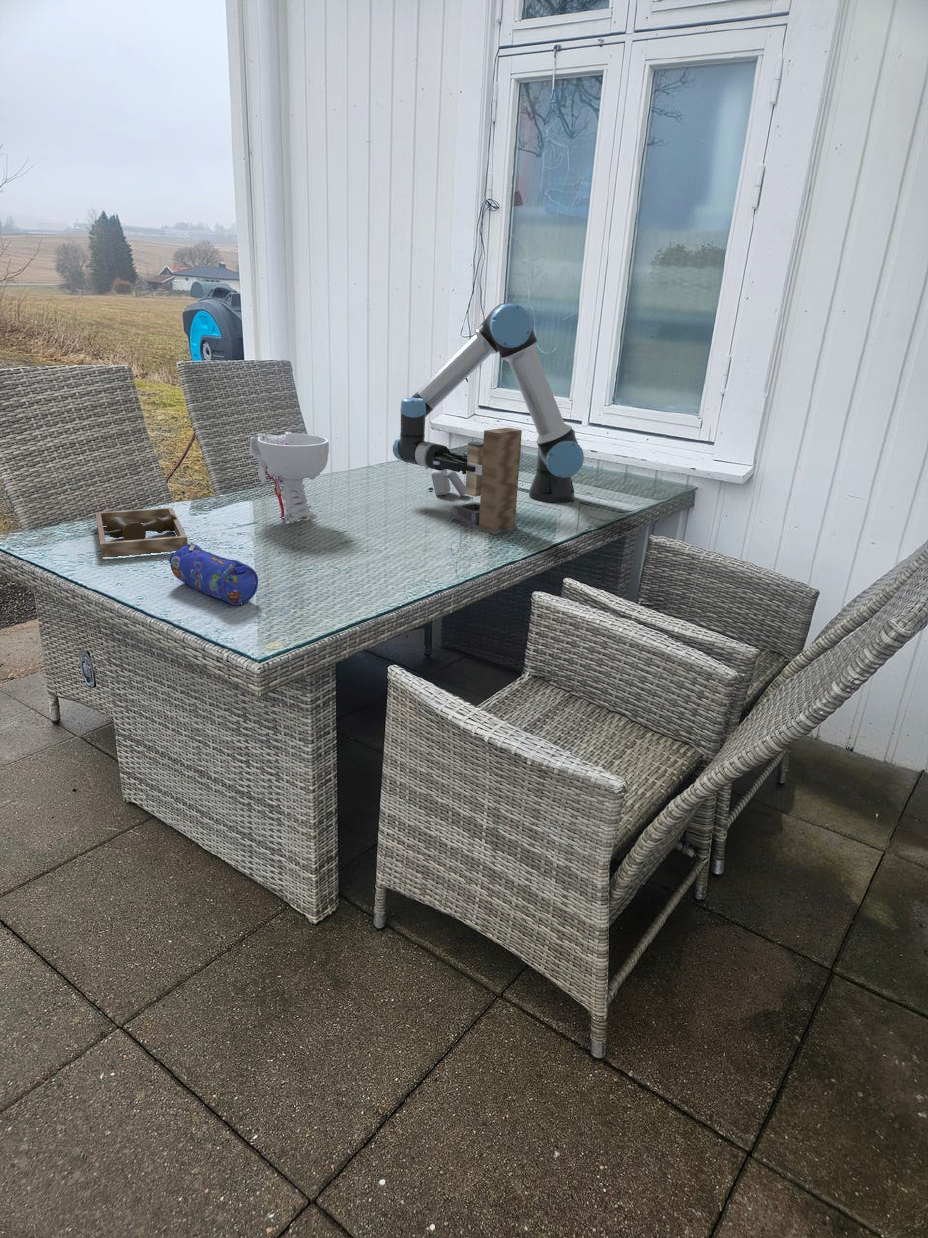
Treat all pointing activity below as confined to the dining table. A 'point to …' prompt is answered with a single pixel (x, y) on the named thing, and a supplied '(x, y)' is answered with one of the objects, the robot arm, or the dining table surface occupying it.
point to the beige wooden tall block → (472, 479)
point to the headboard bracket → (495, 484)
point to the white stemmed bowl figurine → (290, 467)
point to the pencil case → (214, 574)
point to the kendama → (138, 527)
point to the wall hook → (447, 482)
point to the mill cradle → (143, 544)
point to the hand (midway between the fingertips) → (490, 470)
